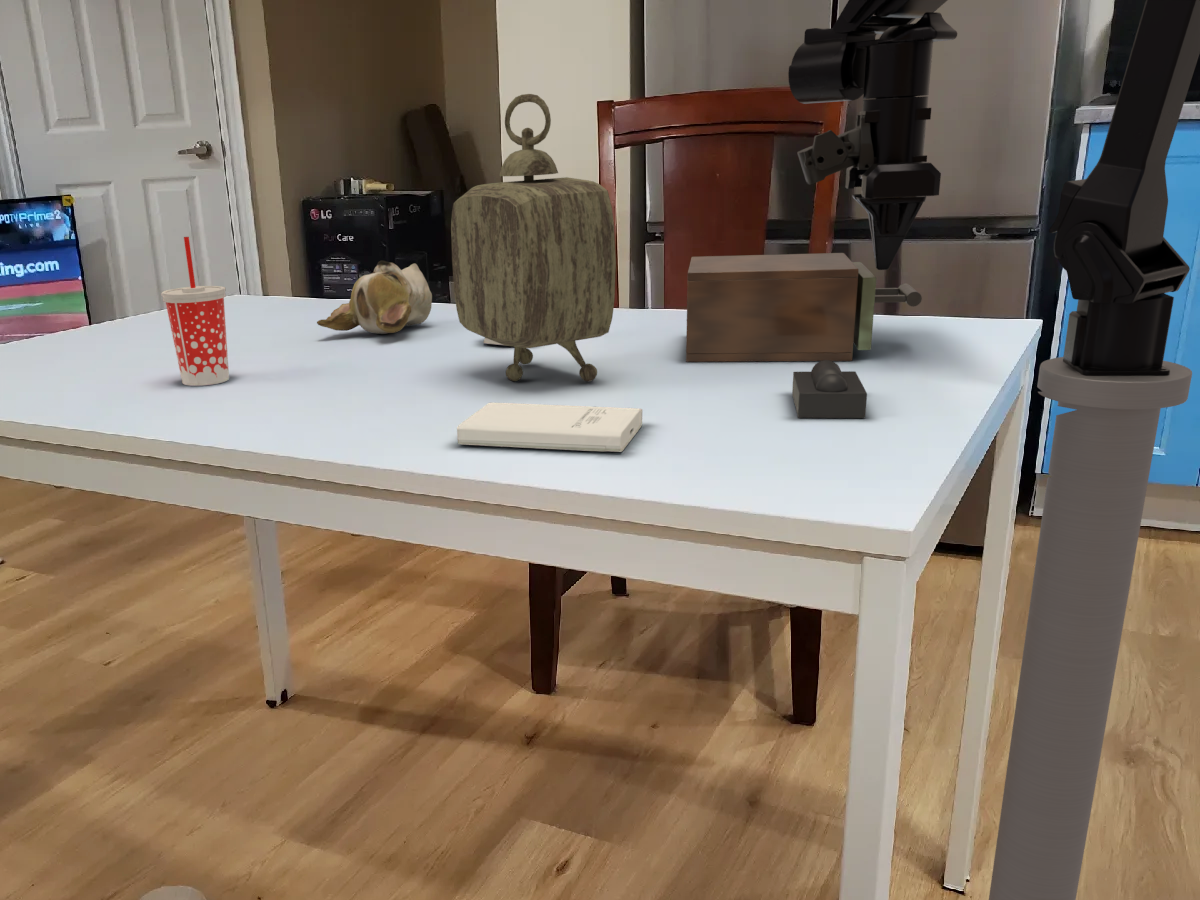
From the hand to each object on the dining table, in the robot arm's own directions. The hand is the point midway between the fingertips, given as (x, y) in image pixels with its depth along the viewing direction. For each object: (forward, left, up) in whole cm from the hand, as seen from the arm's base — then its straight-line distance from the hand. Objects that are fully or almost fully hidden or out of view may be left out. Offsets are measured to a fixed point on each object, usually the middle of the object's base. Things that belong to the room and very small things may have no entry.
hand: (882, 269), depth 107 cm
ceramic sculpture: (+55, -12, -8) cm, 57 cm away
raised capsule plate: (+7, +25, -8) cm, 27 cm away
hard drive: (+28, +35, -8) cm, 45 cm away
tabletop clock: (+33, +14, -8) cm, 37 cm away
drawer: (+6, 0, -7) cm, 9 cm away
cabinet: (+11, 0, -8) cm, 13 cm away
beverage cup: (+66, +15, -8) cm, 68 cm away
